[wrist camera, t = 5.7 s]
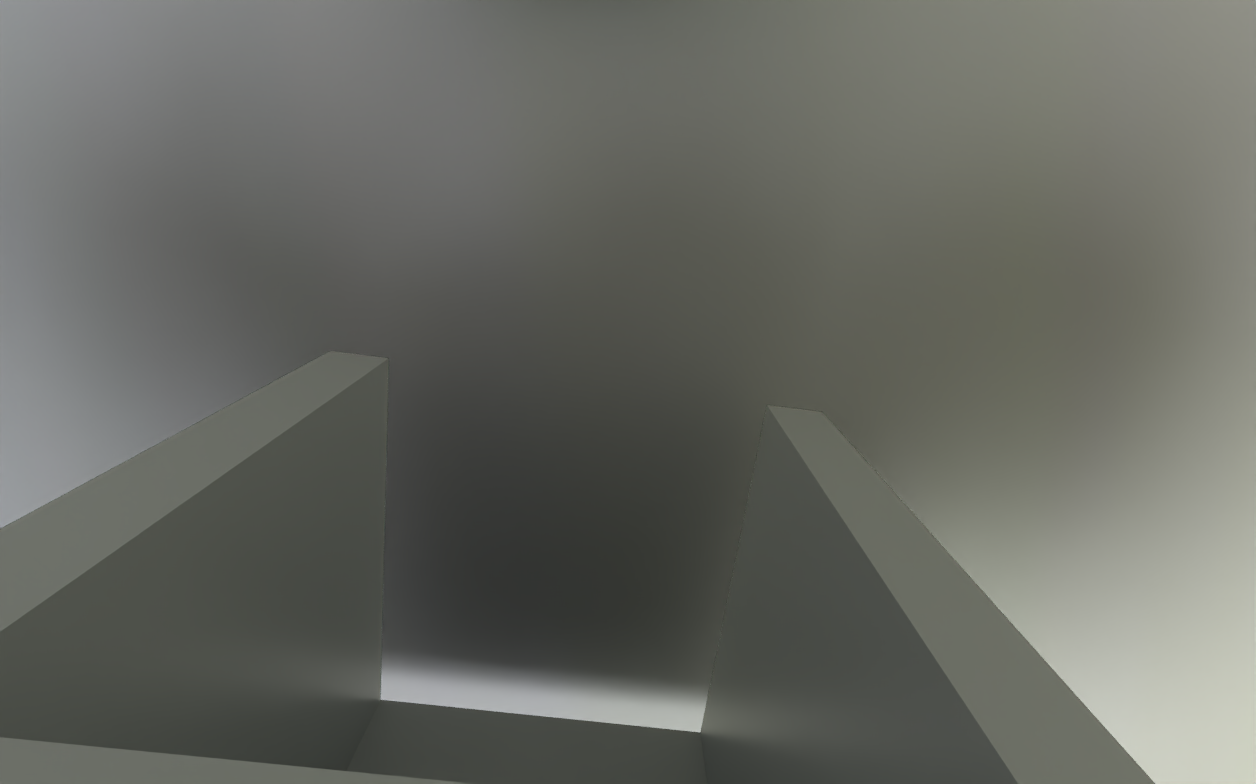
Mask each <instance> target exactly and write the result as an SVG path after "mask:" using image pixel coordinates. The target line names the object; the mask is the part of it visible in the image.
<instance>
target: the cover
mask: <svg viewBox="0 0 1256 784" xmlns="http://www.w3.org/2000/svg"><path fill="white" fill-rule="evenodd" d="M388 380H389V358H384V357H376V356H368V355H360V354H352V353H344V352H336V351H329V352H327V353H325V354H324V355H322V356H320V357H318V358H316V359H314V360H312V361H311V362H309V363H307V364H305V365H303V366H301V367H299V368H298V369H296V370H294V371H292V372H290V373H288V374H287V375H285V376H283V377H281V378H279V379H277V380H275V381H274V382H272V383H270V384H268V385H266V386H264V387H262V388H261V389H259V390H257V391H255V392H253V393H251V394H249V395H248V396H246V397H244V398H242V399H240V400H238V401H236V402H235V403H233V404H231V405H229V406H227V407H225V408H223V409H222V410H220V411H218V412H216V413H214V414H212V415H210V416H209V417H207V418H205V419H203V420H201V421H199V422H197V423H196V424H194V425H192V426H190V427H188V428H186V429H184V430H183V431H181V432H179V433H177V434H175V435H173V436H172V437H170V438H168V439H166V440H164V441H162V442H160V443H159V444H157V445H155V446H153V447H151V448H149V449H147V450H146V451H144V452H142V453H140V454H138V455H136V456H134V457H133V458H131V459H129V460H127V461H125V462H123V463H121V464H120V465H118V466H116V467H114V468H112V469H110V470H108V471H107V472H105V473H103V474H101V475H99V476H97V477H95V478H94V479H92V480H90V481H88V482H86V483H84V484H82V485H81V486H79V487H77V488H75V489H73V490H71V491H69V492H68V493H66V494H64V495H62V496H60V497H58V498H57V499H55V500H53V501H51V502H49V503H47V504H45V505H44V506H42V507H40V508H38V509H36V510H34V511H32V512H31V513H29V514H27V515H25V516H23V517H21V518H19V519H18V520H16V521H14V522H12V523H10V524H8V525H6V526H5V527H3V528H1V529H0V784H1155V783H1154V782H1153V781H1152V780H1151V779H1150V777H1149V776H1148V775H1147V774H1146V773H1145V772H1144V771H1143V770H1142V768H1141V767H1140V766H1139V765H1138V764H1137V763H1136V762H1135V761H1134V760H1133V758H1132V757H1131V756H1130V755H1129V754H1128V753H1127V752H1126V751H1125V749H1124V748H1123V747H1122V746H1121V745H1120V744H1119V743H1118V742H1117V741H1116V739H1115V738H1114V737H1113V736H1112V735H1111V734H1110V733H1109V732H1108V731H1107V729H1106V728H1105V727H1104V726H1103V725H1102V724H1101V723H1100V722H1099V720H1098V719H1097V718H1096V717H1095V716H1094V715H1093V714H1092V713H1091V712H1090V710H1089V709H1088V708H1087V707H1086V706H1085V705H1084V704H1083V703H1082V701H1081V700H1080V699H1079V698H1078V697H1077V696H1076V695H1075V694H1074V693H1073V691H1072V690H1071V689H1070V688H1069V687H1068V686H1067V685H1066V684H1065V682H1064V681H1063V680H1062V679H1061V678H1060V677H1059V676H1058V675H1057V674H1056V672H1055V671H1054V670H1053V669H1052V668H1051V667H1050V666H1049V665H1048V663H1047V662H1046V661H1045V660H1044V659H1043V658H1042V657H1041V656H1040V655H1039V653H1038V652H1037V651H1036V650H1035V649H1034V648H1033V647H1032V646H1031V644H1030V643H1029V642H1028V641H1027V640H1026V639H1025V638H1024V637H1023V636H1022V634H1021V633H1020V632H1019V631H1018V630H1017V629H1016V628H1015V627H1014V626H1013V624H1012V623H1011V622H1010V621H1009V620H1008V619H1007V618H1006V617H1005V615H1004V614H1003V613H1002V612H1001V611H1000V610H999V609H998V608H997V607H996V605H995V604H994V603H993V602H992V601H991V600H990V599H989V598H988V596H987V595H986V594H985V593H984V592H983V591H982V590H981V589H980V588H979V586H978V585H977V584H976V583H975V582H974V581H973V580H972V579H971V577H970V576H969V575H968V574H967V573H966V572H965V571H964V570H963V569H962V567H961V566H960V565H959V564H958V563H957V562H956V561H955V560H954V558H953V557H952V556H951V555H950V554H949V553H948V552H947V551H946V550H945V548H944V547H943V546H942V545H941V544H940V543H939V542H938V541H937V539H936V538H935V537H934V536H933V535H932V534H931V533H930V532H929V531H928V529H927V528H926V527H925V526H924V525H923V524H922V523H921V522H920V520H919V519H918V518H917V517H916V516H915V515H914V514H913V513H912V512H911V510H910V509H909V508H908V507H907V506H906V505H905V504H904V503H903V502H902V500H901V499H900V498H899V497H898V496H897V495H896V494H895V493H894V491H893V490H892V489H891V488H890V487H889V486H888V485H887V484H886V483H885V481H884V480H883V479H882V478H881V477H880V476H879V475H878V474H877V472H876V471H875V470H874V469H873V468H872V467H871V466H870V465H869V464H868V462H867V461H866V460H865V459H864V458H863V457H862V456H861V455H860V453H859V452H858V451H857V450H856V449H855V448H854V447H853V446H852V445H851V443H850V442H849V441H848V440H847V439H846V438H845V437H844V436H843V434H842V433H841V432H840V431H839V430H838V429H837V428H836V427H835V426H834V424H833V423H832V422H831V421H830V420H829V419H828V418H827V417H826V415H825V414H824V413H823V412H820V411H812V410H804V409H796V408H788V407H780V406H771V405H767V406H766V411H765V416H764V421H763V426H762V431H761V436H760V441H759V446H758V451H757V456H756V460H755V465H754V470H753V475H752V480H751V485H750V490H749V495H748V500H747V505H746V510H745V515H744V520H743V525H742V530H741V535H740V540H739V545H738V549H737V554H736V559H735V564H734V569H733V574H732V579H731V584H730V589H729V594H728V599H727V604H726V609H725V614H724V619H723V624H722V629H721V634H720V638H719V643H718V648H717V653H716V658H715V663H714V668H713V673H712V678H711V683H710V688H709V693H708V698H707V703H706V708H705V713H704V718H703V723H702V727H701V732H700V733H699V732H690V731H680V730H670V729H660V728H650V727H641V726H631V725H621V724H611V723H602V722H592V721H582V720H572V719H563V718H553V717H543V716H533V715H523V714H514V713H504V712H494V711H484V710H475V709H465V708H455V707H445V706H436V705H426V704H416V703H406V702H396V701H387V700H381V660H382V620H383V580H384V540H385V500H386V460H387V420H388Z"/></svg>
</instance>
